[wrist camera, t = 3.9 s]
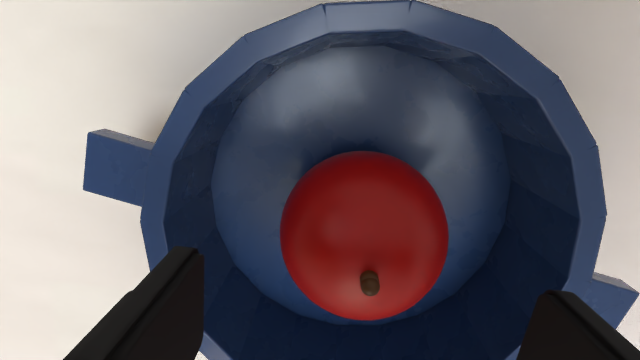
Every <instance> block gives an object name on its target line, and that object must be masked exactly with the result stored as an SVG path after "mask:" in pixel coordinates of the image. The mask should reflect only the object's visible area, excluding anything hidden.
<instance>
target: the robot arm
mask: <svg viewBox="0 0 640 360" xmlns="http://www.w3.org/2000/svg"><path fill="white" fill-rule="evenodd" d="M203 333H204V255H203V254H199V252H198V249H197V248H192V247H183V246H175V247H173V248H172V250H171V251H170V252H169V253H168V254H167V255H166V256H165V257H164V258H163V259H162V260H161V261H160V262H159V263H158V264H157V265H156V266H155V268H154V269H153V270H152V271H151V272H150V273H149V274H148V275H147V276H146V277H145V278H144V279H143V280H142V281H141V282H140V283H139V285H138V286H137V287H136V288H135V289H134V290H133V291H129V292H128V293H127V294H126V295H124V297H123V298H122V299H121V300H120V301H119V302H118V303H117V304H116V305H115V306H114V307H113V308H112V309H111V310H110V311H109V312H108V313H107V314H106V315H105V316H104V317H103V318H102V319H101V320H100V322H99V323H98V324H97V325H96V326H95V327H94V328H93V329H92V330H91V331H90V332H89V333H88V334H87V335H86V336H85V337H84V338H83V339H82V340H81V341H80V342H79V343H78V344H77V345H76V347H75V348H74V349H73V350H72V351H71V352H70V353H69V354H68V355H67V356H66V357H65V358H64V359H63V360H194V359H195V357H196V355H197V353H198V351H199V349H200V347H201V344H202V340H203ZM516 360H640V351H639V350H638V349H637V348H636V347H634V346H633V345H632V344H631V343H630V342H629V341H628V340H627V339H625V338H624V337H623V336H622V335H621V334H620V333H619V332H618V331H616V330H615V329H614V328H613V327H612V326H611V325H610V324H609V323H607V322H606V321H605V320H604V319H603V318H602V317H601V316H600V315H598V314H597V313H596V312H595V311H594V310H593V309H592V308H591V307H589V306H588V305H587V304H586V303H585V302H584V301H583V300H581V299H580V298H579V297H578V296H577V295H576V294H574V293H573V292H568V291H560V290H551V289H549V290H546V291H545V292H544V294H541V295H539V296H538V298H537V301H536V304H535V307H534V310H533V313H532V315H531V318H530V321H529V324H528V327H527V330H526V333H525V336H524V338H523V341H522V344H521V347H520V350H519V353H518V356H517V359H516Z"/></svg>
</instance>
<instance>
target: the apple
mask: <svg viewBox="0 0 640 360" xmlns="http://www.w3.org/2000/svg"><path fill="white" fill-rule="evenodd" d="M448 240H449V232H448V223H447V219H446V215H445V211H444V208H443V205H442V203H441V200H440V199H439V197H438V195H437V193H436V192H435V190H434V188H433V187H432V186H431V184H430V183H429V182H428V181H427V179H426V178H425V177H424V176H423V175H422V174H420V173H419V172H418V171H417V170H416V169H414V168H413V167H412V166H410V165H409V164H408V163H406V162H404V161H402V160H400V159H398V158H396V157H393V156H391V155H388V154H384V153H379V152H373V151H351V152H345V153H341V154H338V155H335V156H332V157H330V158H328V159H325V160H323V161H322V162H320V163H318V164H317V165H315V166H314V167H312V168H311V169H310V170H309V171H307V172H306V173H305V174H304V175H303V176H302V177H301V179H300V180H299V181H298V182H297V184H296V185H295V186H294V188H293V189H292V191H291V193H290V195H289V197H288V198H287V200H286V203H285V206H284V209H283V213H282V217H281V222H280V244H281V251H282V256H283V259H284V262H285V264H286V267H287V270H288V272H289V274H290V276H291V277H292V279H293V281H294V282H295V283H296V285H297V286H298V287H299V289H300V290H301V291H302V292H303V293H304V294H305V295H306V296H307V297H308V298H309V299H310V300H311V301H312V302H314V303H315V304H316V305H318V306H319V307H321V308H323V309H324V310H326V311H328V312H330V313H332V314H334V315H337V316H340V317H343V318H348V319H353V320H379V319H384V318H388V317H391V316H394V315H397V314H399V313H401V312H404V311H406V310H407V309H409V308H410V307H412V306H414V305H415V304H416V303H417V302H419V301H420V300H421V299H422V298H423V297H424V296H425V295H426V294H427V293H428V292H429V291H430V290H431V288H432V287H433V285H434V284H435V283H436V281H437V279H438V277H439V276H440V274H441V271H442V269H443V266H444V263H445V261H446V256H447V252H448Z"/></svg>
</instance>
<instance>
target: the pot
mask: <svg viewBox="0 0 640 360" xmlns="http://www.w3.org/2000/svg"><path fill="white" fill-rule="evenodd" d="M351 151H373V152H379V153H384V154H388V155H391V156H393V157H396V158H398V159H400V160H402V161H404V162H406V163H408V164H409V165H410V166H412V167H413V168H414V169H416V170H417V171H418V172H419V173H420V174H422V175H423V176H424V177H425V178H426V179H427V181H428V182H429V183H430V184H431V186H432V187H433V188H434V190H435V192H436V193H437V195H438V197H439V199H440V200H441V203H442V205H443V208H444V211H445V215H446V219H447V223H448V232H449V240H448V252H447V256H446V261H445V263H444V266H443V269H442V271H441V274H440V276H439V277H438V279H437V281H436V283H435V284H434V285H433V287H432V288H431V290H430V291H429V292H428V293H427V294H426V295H425V296H424V297H423V298H422V299H421V300H420V301H419V302H417V303H416V304H415V305H414V306H412V307H410V308H409V309H407V310H406V311H404V312H401V313H399V314H397V315H394V316H391V317H388V318H384V319H379V320H353V319H348V318H343V317H340V316H337V315H334V314H332V313H330V312H328V311H326V310H324V309H323V308H321V307H319V306H318V305H316V304H315V303H314V302H312V301H311V300H310V299H309V298H308V297H307V296H306V295H305V294H304V293H303V292H302V291H301V290H300V289H299V287H298V286H297V285H296V283H295V282H294V281H293V279H292V277H291V276H290V274H289V272H288V270H287V267H286V264H285V262H284V259H283V256H282V251H281V244H280V222H281V217H282V213H283V209H284V206H285V203H286V200H287V198H288V197H289V195H290V193H291V191H292V189H293V188H294V186H295V185H296V184H297V182H298V181H299V180H300V179H301V177H302V176H303V175H304V174H305V173H306V172H307V171H309V170H310V169H311V168H312V167H314V166H315V165H317V164H318V163H320V162H322V161H323V160H325V159H328V158H330V157H332V156H335V155H338V154H341V153H345V152H351ZM83 190H85V191H88V192H92V193H95V194H99V195H102V196H106V197H109V198H113V199H116V200H120V201H123V202H127V203H130V204H134V205H137V206H141V207H142V210H141V217H140V219H141V220H140V223H141V228H142V233H143V238H144V243H145V248H146V253H147V258H148V263H149V269H150V272H151V271H152V270H153V269H154V268H155V266H156V265H157V264H158V263H159V262H160V261H161V260H162V259H163V258H164V257H165V256H166V255H167V254H168V253H169V252H170V251H171V250H172V248H173V247H175V246H183V247H192V248H197V249H198V252H199V254H203V255H204V333H203V340H202V344H201V347H200V349H199V351H200V352H201V353H202V354H203V355H204V356H205V357H206V358H207V359H208V360H516V359H517V356H518V353H519V350H520V347H521V344H522V341H523V338H524V336H525V333H526V330H527V327H528V324H529V321H530V318H531V315H532V313H533V310H534V307H535V304H536V301H537V298H538V296H539V295H541V294H544V292H545V291H546V290H549V289H551V290H560V291H568V292H573V293H574V294H576V295H577V296H578V297H579V298H580V299H581V300H583V301H584V302H585V303H586V304H587V305H588V306H589V307H591V308H592V309H593V310H594V311H595V312H596V313H597V314H598V315H600V316H601V317H602V318H603V319H604V320H605V321H606V322H607V323H609V324H610V325H611V326H612V327H613V328H614V329H615V330H616V328H617V327H618V325H619V324H620V322H621V321H622V319H623V318H624V316H625V315H626V313H627V312H628V311H629V309H630V308H631V306H632V305H633V303H634V302H635V300H636V299H637V297H638V296H639V293H638V292H637V291H636V290H635V289H633V288H632V287H630V286H629V285H628V284H626V283H625V282H623V281H622V280H620V279H616V278H613V277H610V276H606V275H603V274H599V273H596V272H594V269H595V264H596V260H597V256H598V252H599V247H600V243H601V239H602V234H603V230H604V226H605V222H606V216H607V210H606V203H605V195H604V188H603V180H602V173H601V165H600V158H599V150H598V146H597V145H596V142H595V140H594V138H593V136H592V134H591V133H590V131H589V129H588V127H587V126H586V124H585V122H584V120H583V119H582V117H581V115H580V113H579V111H578V110H577V108H576V106H575V104H574V103H573V101H572V99H571V97H570V96H569V94H568V92H567V90H566V88H565V87H564V85H563V83H562V81H561V80H560V79H559V77H558V76H557V75H556V74H555V73H554V72H552V71H551V70H550V69H549V68H547V67H546V66H545V65H544V64H542V63H541V62H540V61H539V60H537V59H536V58H535V57H534V56H532V55H531V54H530V53H529V52H527V51H526V50H525V49H524V48H522V47H521V46H520V45H519V44H517V43H516V42H515V41H514V40H512V39H511V38H510V37H509V36H507V35H506V34H505V33H504V32H502V31H501V30H500V29H499V28H497V27H494V25H492V24H488V23H485V22H482V21H479V20H476V19H473V18H470V17H466V16H463V15H460V14H457V13H454V12H451V11H448V10H444V9H441V8H438V7H435V6H432V5H429V4H426V3H423V2H419V1H416V0H411V1H410V0H383V1H359V2H336V3H325V4H324V5H323V4H319V5H316V6H314V7H311V8H309V9H306V10H304V11H301V12H299V13H297V14H294V15H292V16H289V17H287V18H284V19H282V20H279V21H277V22H274V23H272V24H270V25H267V26H265V27H262V28H260V29H257V30H255V31H252V32H250V33H247V34H245V35H244V36H242V37H241V38H240V39H239V40H238V41H236V42H235V43H234V44H233V45H232V46H231V47H230V48H229V49H227V50H226V51H225V52H224V53H223V54H222V55H221V56H220V57H219V58H217V59H216V60H215V61H214V62H213V63H212V64H211V65H210V66H209V67H207V68H206V69H205V70H204V71H203V72H202V73H201V74H200V75H198V76H197V77H196V78H195V79H194V80H193V81H192V82H191V83H190V84H188V85H187V86H186V87H185V90H184V91H183V92H182V94H181V96H180V97H179V99H178V101H177V103H176V105H175V107H174V109H173V111H172V112H171V114H170V116H169V118H168V120H167V122H166V124H165V126H164V127H163V129H162V131H161V133H160V135H159V137H158V139H157V141H156V142H155V143H152V142H148V141H145V140H142V139H138V138H135V137H131V136H128V135H125V134H121V133H118V132H114V131H111V130H107V129H101V130H97V131H92V132H89V133H88V135H87V147H86V159H85V171H84V183H83Z"/></svg>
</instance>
